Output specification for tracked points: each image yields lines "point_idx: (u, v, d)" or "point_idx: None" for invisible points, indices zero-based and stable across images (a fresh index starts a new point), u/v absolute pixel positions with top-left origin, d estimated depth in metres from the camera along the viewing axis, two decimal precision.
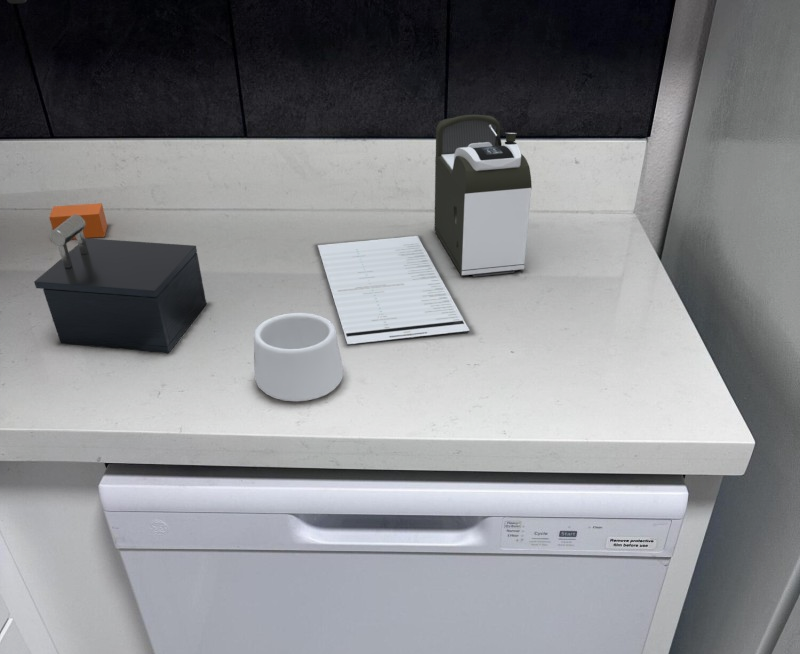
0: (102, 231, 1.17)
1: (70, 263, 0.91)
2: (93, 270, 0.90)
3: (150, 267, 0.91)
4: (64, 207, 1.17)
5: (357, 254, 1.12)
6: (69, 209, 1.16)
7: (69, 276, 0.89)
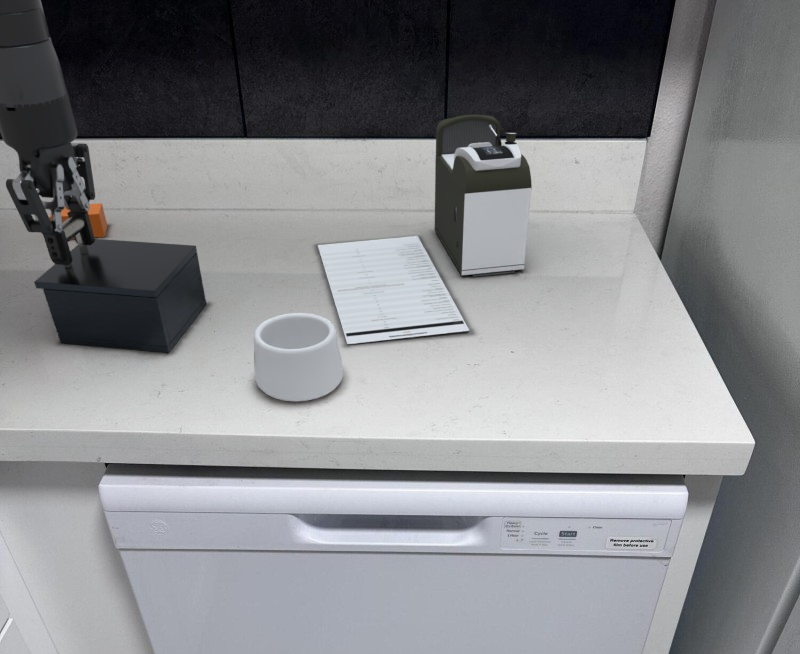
0: (102, 231, 1.17)
1: (70, 263, 0.91)
2: (93, 270, 0.90)
3: (150, 267, 0.91)
4: (64, 207, 1.17)
5: (357, 254, 1.12)
6: None
7: (69, 276, 0.89)
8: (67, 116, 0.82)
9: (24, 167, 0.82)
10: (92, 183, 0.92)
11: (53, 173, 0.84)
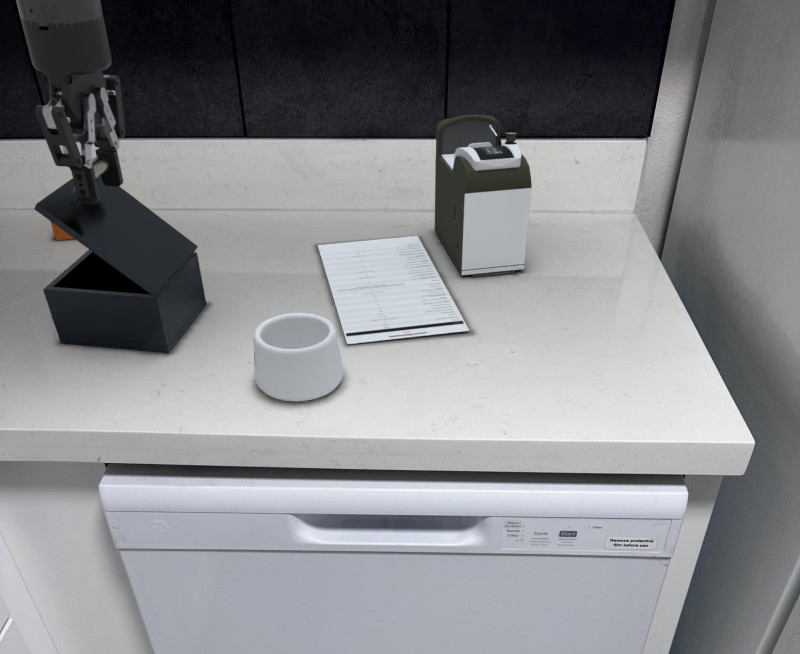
0: None
1: (77, 200, 0.86)
2: (98, 224, 0.86)
3: (154, 253, 0.90)
4: None
5: (357, 254, 1.12)
6: None
7: (74, 217, 0.85)
8: (103, 41, 0.76)
9: (55, 94, 0.77)
10: (122, 120, 0.87)
11: (85, 103, 0.79)
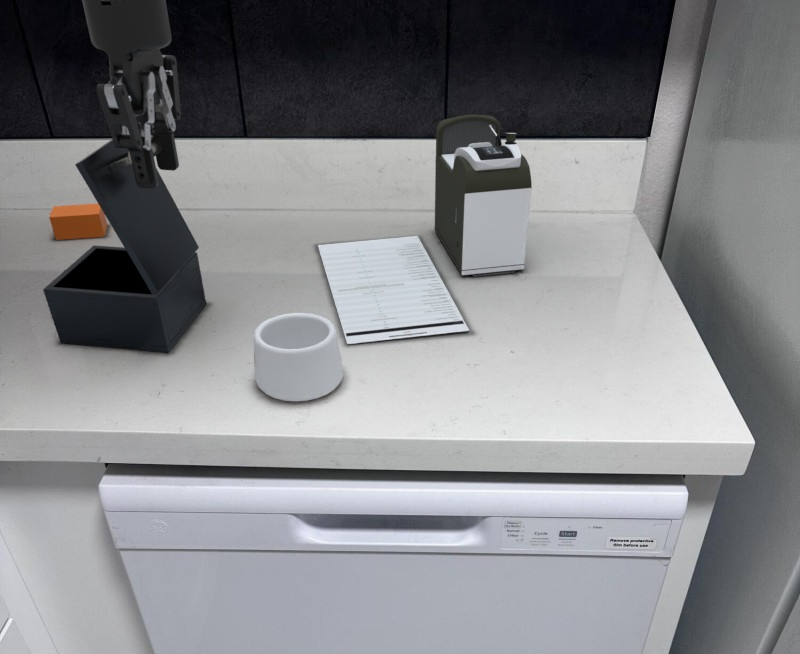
0: (102, 231, 1.17)
1: (116, 169, 0.83)
2: (127, 200, 0.84)
3: (164, 247, 0.89)
4: (64, 207, 1.17)
5: (357, 254, 1.12)
6: (69, 209, 1.16)
7: (108, 187, 0.82)
8: (164, 16, 0.74)
9: (115, 72, 0.74)
10: (178, 101, 0.84)
11: (145, 81, 0.76)
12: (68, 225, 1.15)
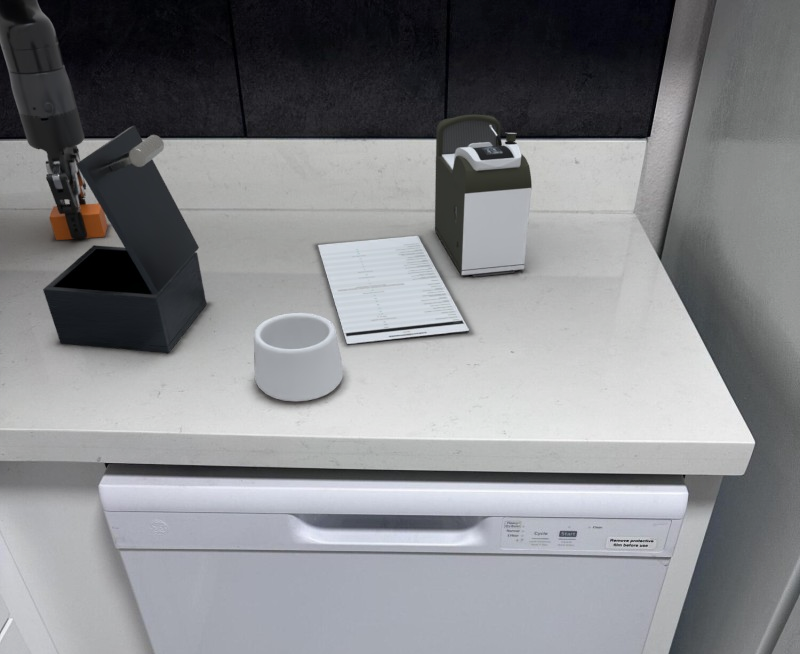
0: (102, 231, 1.17)
1: (117, 169, 0.83)
2: (127, 200, 0.84)
3: (164, 247, 0.89)
4: None
5: (357, 254, 1.12)
6: None
7: (109, 187, 0.82)
8: (80, 122, 1.09)
9: (53, 164, 1.08)
10: None
11: (71, 166, 1.10)
12: None
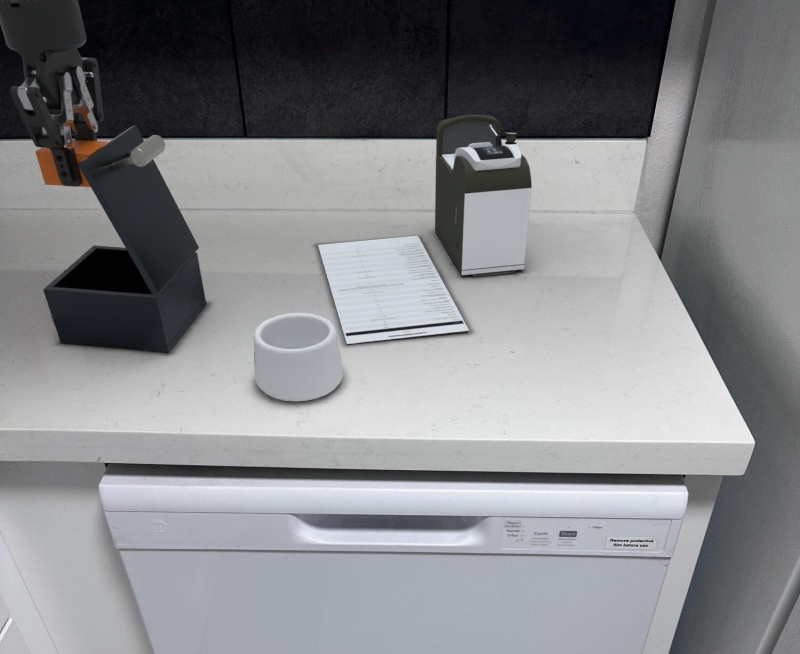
0: None
1: None
2: (128, 200, 0.84)
3: (164, 247, 0.89)
4: None
5: (358, 254, 1.12)
6: None
7: (110, 187, 0.82)
8: (76, 17, 0.75)
9: (29, 73, 0.76)
10: (101, 103, 0.86)
11: (60, 81, 0.78)
12: None
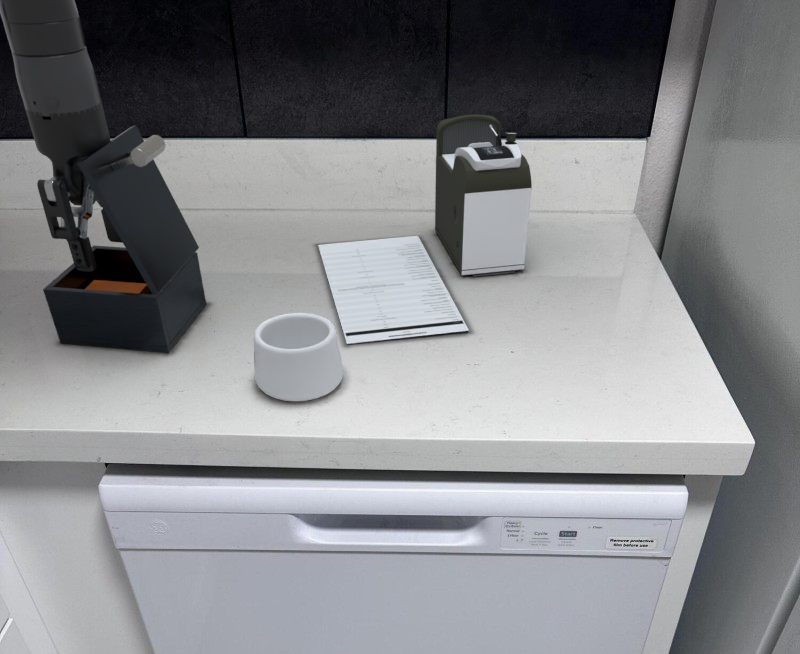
0: None
1: None
2: (128, 200, 0.84)
3: (164, 247, 0.89)
4: (104, 283, 0.96)
5: (358, 254, 1.12)
6: (107, 287, 0.95)
7: (110, 187, 0.82)
8: (101, 125, 0.82)
9: (58, 173, 0.82)
10: None
11: (86, 181, 0.84)
12: None
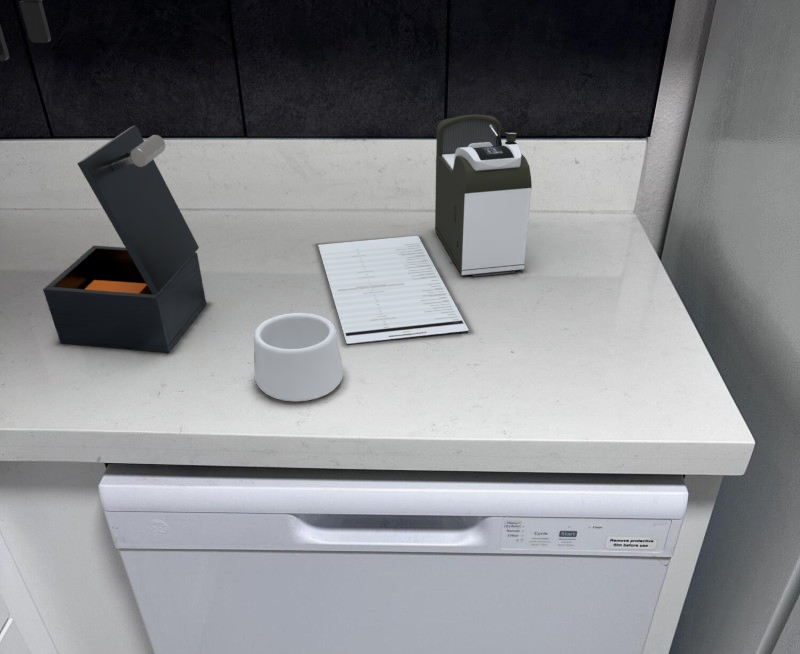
0: None
1: None
2: (128, 200, 0.84)
3: (164, 247, 0.89)
4: (104, 283, 0.96)
5: (358, 254, 1.12)
6: (107, 287, 0.95)
7: (110, 187, 0.82)
8: None
9: None
10: None
11: None
12: None
